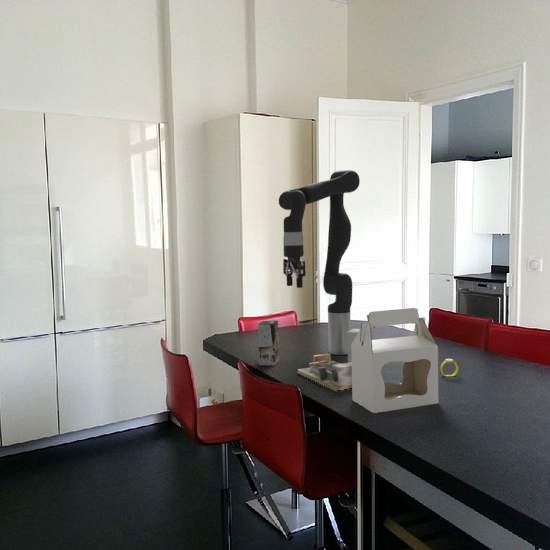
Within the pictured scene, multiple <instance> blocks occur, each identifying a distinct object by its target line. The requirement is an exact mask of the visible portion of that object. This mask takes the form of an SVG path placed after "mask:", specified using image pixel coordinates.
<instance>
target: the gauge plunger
mask: <svg viewBox="0 0 550 550" xmlns="http://www.w3.org/2000/svg"><path fill="white" fill-rule="evenodd" d="M331 355H332V354H330V353H329V352H328V353H323V354H313V355H312V362H309V363H308V366H309V367H310V366H314V365H317V366H319V367H326V370H328V371H332V365H336V362H337V361H335V360H332V358H331ZM334 361H335V362H334Z"/></svg>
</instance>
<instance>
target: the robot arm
mask: <svg viewBox="0 0 550 550" xmlns="http://www.w3.org/2000/svg"><path fill="white" fill-rule="evenodd" d="M360 180H361V179H360V175H359V174H358V173H357V171H355V170H352V169H347V170H346V169H344V170H336V171H334V172H333V173H332V174H331V175H330V179H327V180H321V181H319V182H313V183H310V184H307V185H304V186H302V187H299V188H294V189H289V190H286V191H283V192H282V193H281V194H280V195H279V198H278V204H279V206H280V208H281V209H283V210H287V211H290V213H289V215H288V216H285V217H284V219H283V237H282V240H283V242H282V243H283V257H285V258H284V259H283V261H282V262H283V264H282V265H283V266H282V268H283V269H282V270H283V274H284V276H285V277H286V286H287V287H291V286H294V285H293V283H294V282H293V274H295V277H296V288H297V289H301V288H303V286H304V285H303V278H304V277H306V276H307V275H306V261H305V259H302V260H301V257H304V236H303V218H304V216H305V215H304V214H305V209H306V206H307V205H310V204H313V203H316V202H319V201H321V200H324V199H326V198H329V223H328V235H327V236H328V237H327V252H326V263H325V267H324V273H323V280H322V281H323V284H322V286H323V290H324V292H325V293H326V294H327V295H330V296H335V300H334V302H332V303H330V304H328V305H327V327H328V329H327V331H328V336H327V337H328V353H329V354H331V355H335V356H344V355H348V344H347V332H348V331H350V330H351V327H352V326H351V325H352V324H351V307H352V304H353V281H352V280H353V279H352V277H351V276H350V275H349V274H348V273H344V272H340V266H341V265H340V264H341V261H342V259H343V256H344V254H345V252H346V251H347V249H348V247H349V246H350V243H351V237H352V223H351V220H350V218H349V216H348V214H347V212H346V208H345V205H344V198H345V197H344V195H345V194H349V193H353V192H355V191H357V190H358V188H359V186H360V183H361V181H360Z"/></svg>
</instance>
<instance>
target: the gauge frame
mask: <svg viewBox="0 0 550 550" xmlns="http://www.w3.org/2000/svg"><path fill="white" fill-rule="evenodd" d="M333 361H334V362H336V365H332V371H328V370H326V377H327V378H323V379H320V378H319V368H321V367H319V366H317V365H314V366H309V367H304V368H303V367H302V368H298V369H297V374H298V375H300V376H302V377H304V378H306V377H307V378H306V379H308V378H309V379H308V380H310V379H311V380H310V381H312V380H313V381H312V382H314V381H315V382H314V383H316V382H317V383H316V384H318V383H319V384H318V385H320V384H321V386H322V385H323V386H322V387H324V386H325V387H324V388H326V387H327V388H326V389H328V388H329V389H328V390H330V389H331V390H330V391H332V390H333V391H332V392H334V391H335V392H338V391H337V390H341V391H345V390H344V389H347V390H351V389H350V388H352V362H349V363H348V362H344V363H343V362H342V363H340V362H337V361H335V360H333Z"/></svg>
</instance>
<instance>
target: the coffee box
mask: <svg viewBox="0 0 550 550" xmlns="http://www.w3.org/2000/svg"><path fill="white" fill-rule="evenodd" d="M257 327H258V328H257V334H258V338H257V339H258V341H257V342H258V365H259V366H271V367H272V366H276V364H277V363H278V362H279V361H280V353H279V346H280V345H279V321H278V320H262V321H260V322H259V323H258V324H257Z"/></svg>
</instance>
